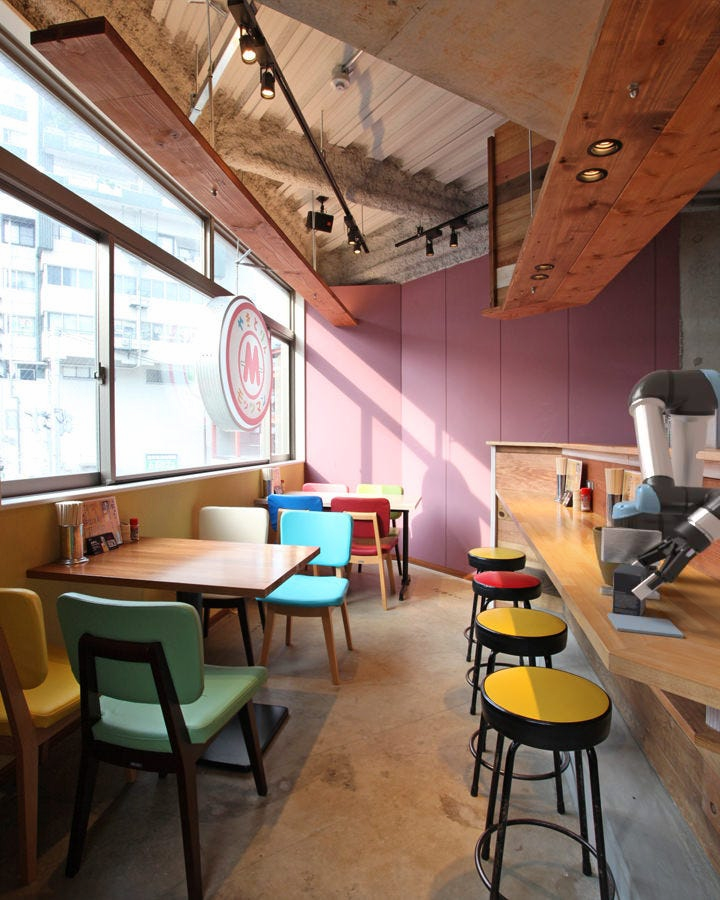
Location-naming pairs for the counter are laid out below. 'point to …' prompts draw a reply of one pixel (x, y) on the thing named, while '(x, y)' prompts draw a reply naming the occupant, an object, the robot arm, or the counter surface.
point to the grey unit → (627, 549)
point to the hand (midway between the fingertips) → (628, 587)
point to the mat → (644, 625)
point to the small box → (628, 590)
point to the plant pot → (605, 567)
